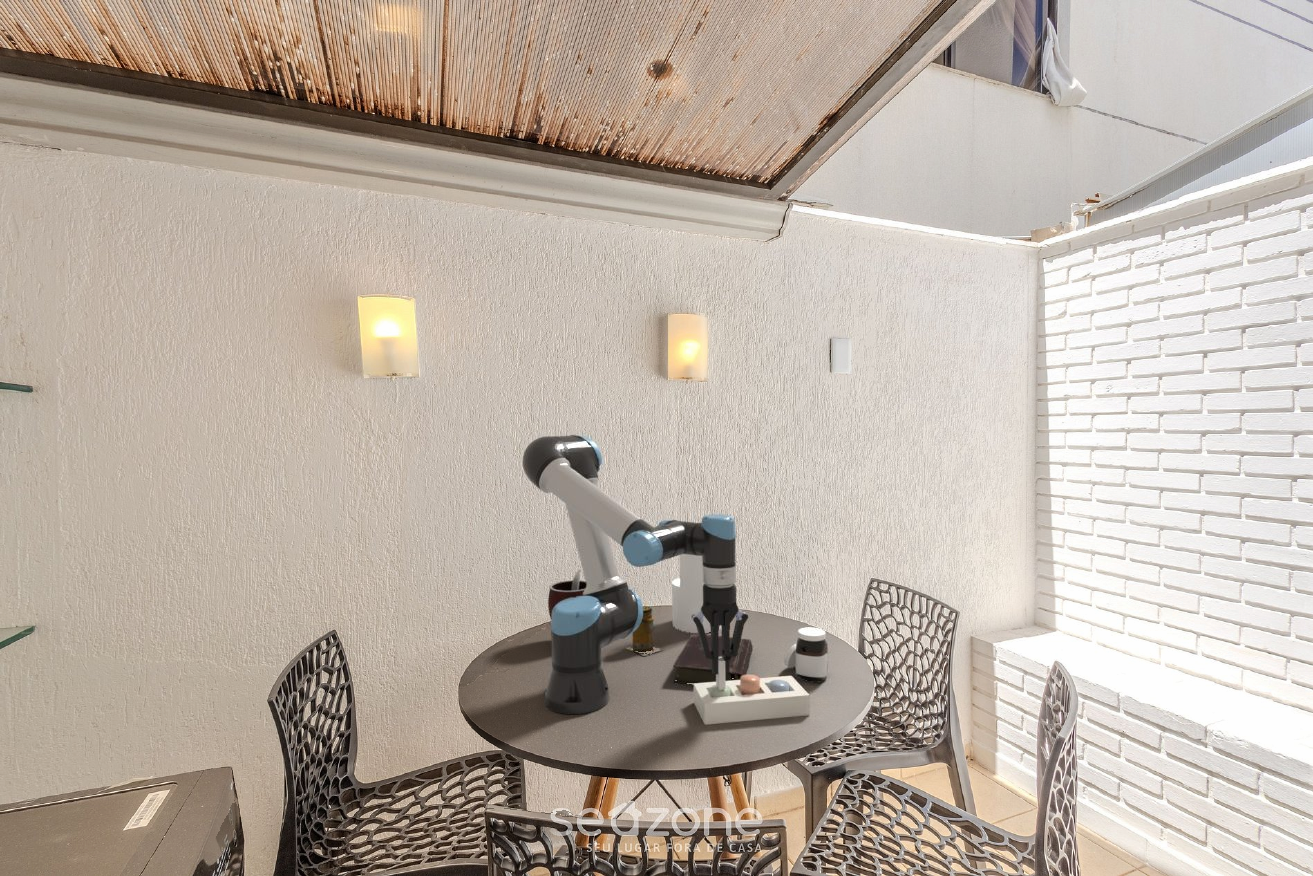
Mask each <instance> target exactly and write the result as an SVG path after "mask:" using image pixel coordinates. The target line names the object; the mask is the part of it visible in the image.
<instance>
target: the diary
mask: <svg viewBox="0 0 1313 876" xmlns="http://www.w3.org/2000/svg"><path fill="white" fill-rule="evenodd" d="M718 636H719V657H723V655H722V635H718ZM706 638H707V642H708V646H709V650H710V652H711V634H706ZM731 641H732V637H730V646H731ZM752 654H753V644H752V640H751V639H749V638H741V641H740V645H739V650H738V655H737V656H736V657H731V660H730V661H729V673H727V674H725V681H732V680H740V677H741V676H743V675H747V674H748V673H747V672H748V671H749V667H750V662H751V658H752ZM673 668H677V676H678V677H677V676H676V677H675V679H674V680H673V682H672V684H675V683H681V684H680V685H687V683H707V682H716V674H715V675H714V674H713V672H712V660H711V659H707V658H706V657H705V655H704V654H703V650H702V646H701V642H700V638H699V634H690V636H689V638H688V640H687V642H686V643H685V645H684V648H683V649H682V651H681V652H680V653H679V654H678V657H677V658H676V661H675V662H674V664H673ZM732 678H734V679H732ZM675 680H677V681H675ZM689 685H690V686H691V685H692V684H689ZM689 685H688V686H689ZM692 686H693V685H692Z"/></svg>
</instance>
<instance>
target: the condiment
mask: <svg viewBox="0 0 1313 876" xmlns="http://www.w3.org/2000/svg"><path fill="white" fill-rule="evenodd" d="M642 606H643V617H642V621H641V623H640V625H639V627H638V628H637V629H636V630H635V631H634V632H633V633H632V646H629V647H626V649H627V650H628V651H631V652H633V651H638V652H646V651H651V650H652V649H653V646H654V617H653V613H652V612H653V609H652V607H650V606H647V605H642ZM631 647H633V648H631ZM629 649H630V650H629ZM631 649H633V650H631ZM656 649H661V648H659V647H657V648H656ZM638 652H634V653H636V654H638V655H641V656H643V657H645V656H646V657H647V656H648V655H644V653H638ZM645 654H647V653H645ZM649 654H650V655H653V654H652V653H649Z"/></svg>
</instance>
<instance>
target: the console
mask: <svg viewBox="0 0 1313 876" xmlns="http://www.w3.org/2000/svg"><path fill="white" fill-rule="evenodd" d="M759 678H760V694H750V695H742V694H741V693H740V680H735V679H732V681H725V685H727V686H729V687H730V696H726V697H714V698H712V697H711V687H712V686H713V685H716V682H707V683H694V685H693V704H694V707H695V708H696V710H697V712H698V713H699V716H700V718H701V720H702V722H703V724H704V725H714V724H715V725H716V724H726V723H736V722H747V721H748V722H749V721H760V720H770V719H772V720H773V719H780V718H781V719H782V718H793V717H804V716H805V717H806V716H810V715H811V714H810V713H811V708H810V707H811V706H810V699H811V697H810V696H811V695H810V694H809V693H808V691H806V690H805V689H804V688H803V687H802V685H801V684H800V683H799V682H798V681H797V680H796V679H795V678H794V676H792V675H785V676H782V675H781V676H773V677H772V676H771V677H759ZM773 680H783V681H786V682H788V683H789V691H786V692H774V693H772V692H771V691H770V682H771V681H773Z"/></svg>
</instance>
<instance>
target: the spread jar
mask: <svg viewBox="0 0 1313 876" xmlns="http://www.w3.org/2000/svg"><path fill="white" fill-rule="evenodd" d="M797 637H798V638H797V640H796V643H794V644H793V645H791V647H790V648H789V649H788V651H786V654H785V655H784V656H785V657H784V662H783V663H784V665H785V666H786V667H787V668H789V669H791V668H792V669H794V668H793V667H795V674H796V676H797V677H798V678H799V679H801V680H802V679H803V681H805V680H807V681H806V682H810V681H813V682H812V683H817V682H818V681H820V682H823V681H825V680H826V679H827V677H828V672H829V671H828V668H829V657H828V655H829V649H828V647H829V645H828V642H827V640H826V631H825V630H823V629H822V628H818V627H811V626H810V627H808V626H807V627H802V628H799V629H798V630H797Z"/></svg>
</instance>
